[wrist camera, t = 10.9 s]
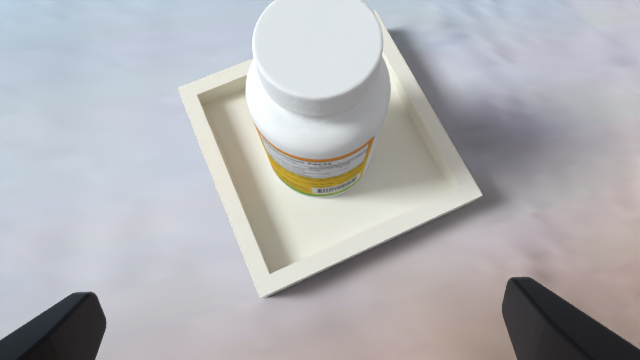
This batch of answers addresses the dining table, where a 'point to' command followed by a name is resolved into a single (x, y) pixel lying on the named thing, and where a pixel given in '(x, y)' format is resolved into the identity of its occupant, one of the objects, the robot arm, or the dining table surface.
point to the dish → (330, 212)
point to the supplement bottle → (318, 92)
